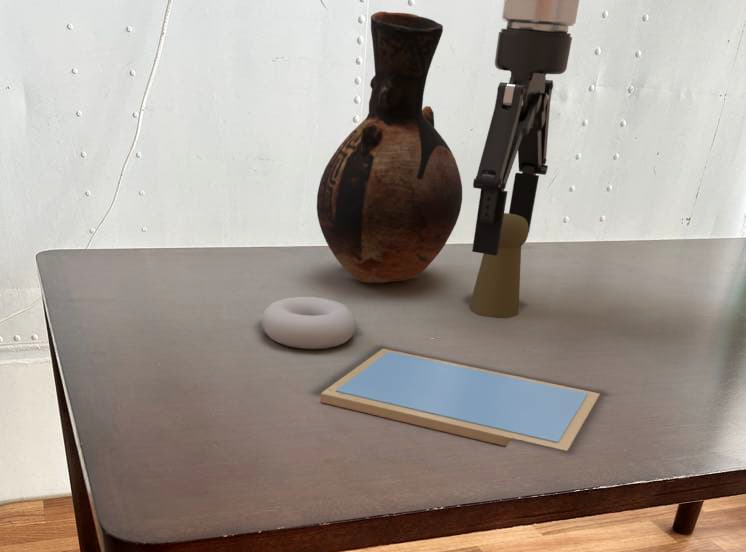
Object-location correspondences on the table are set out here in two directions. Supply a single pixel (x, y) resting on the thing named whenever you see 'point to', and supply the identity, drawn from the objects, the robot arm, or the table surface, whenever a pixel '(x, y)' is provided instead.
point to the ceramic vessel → (392, 165)
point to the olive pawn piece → (501, 272)
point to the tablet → (463, 400)
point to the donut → (309, 322)
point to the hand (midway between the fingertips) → (502, 242)
